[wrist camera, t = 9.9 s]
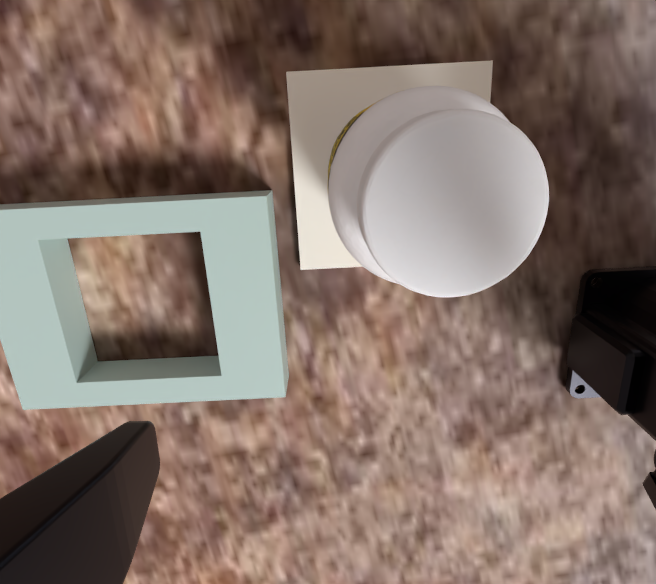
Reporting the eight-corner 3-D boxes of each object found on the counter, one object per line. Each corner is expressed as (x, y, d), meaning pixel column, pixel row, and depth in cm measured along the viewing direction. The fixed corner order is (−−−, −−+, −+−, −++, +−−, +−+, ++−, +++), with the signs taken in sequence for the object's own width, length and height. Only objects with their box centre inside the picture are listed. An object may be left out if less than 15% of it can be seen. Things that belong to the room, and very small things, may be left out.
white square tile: (489, 62, 18) (492, 60, 17) (477, 258, 20) (480, 260, 20) (287, 73, 18) (285, 71, 17) (300, 267, 20) (300, 269, 20)
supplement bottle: (330, 97, 18) (338, 55, 8) (466, 106, 18) (621, 74, 8) (323, 233, 19) (323, 322, 10) (446, 239, 20) (557, 333, 10)
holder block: (272, 190, 19) (266, 196, 17) (288, 374, 22) (285, 397, 20) (-5, 204, 19) (-41, 212, 17) (48, 386, 22) (22, 409, 20)
